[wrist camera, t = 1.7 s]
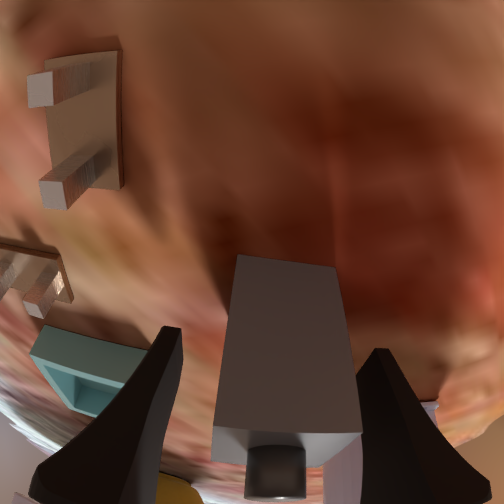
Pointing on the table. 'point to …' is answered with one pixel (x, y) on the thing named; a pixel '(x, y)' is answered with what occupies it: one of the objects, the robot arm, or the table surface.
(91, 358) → the teal shallow square tray
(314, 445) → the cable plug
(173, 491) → the planter bowl
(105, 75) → the clips
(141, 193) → the table surface
